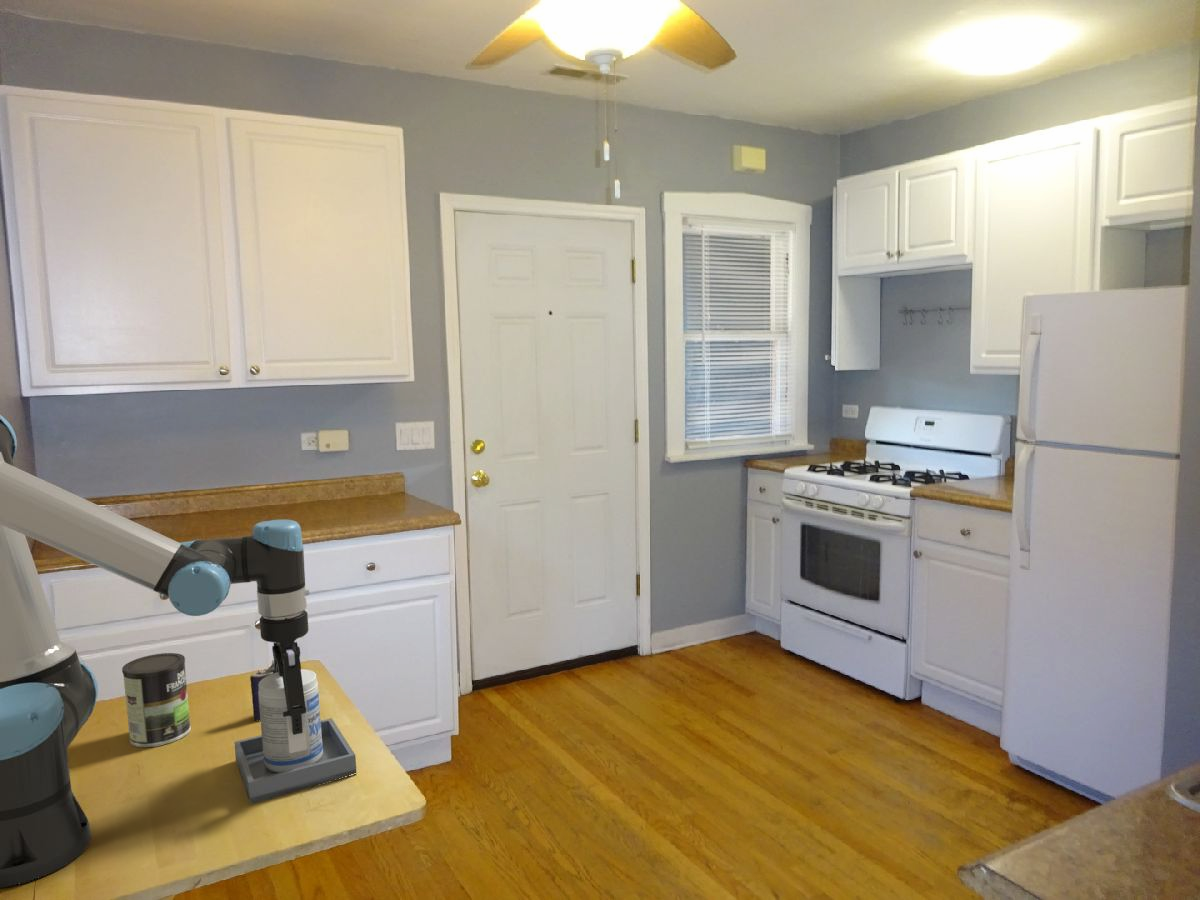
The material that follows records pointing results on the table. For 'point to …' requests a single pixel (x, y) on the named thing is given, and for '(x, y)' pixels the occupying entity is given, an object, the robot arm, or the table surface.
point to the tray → (271, 784)
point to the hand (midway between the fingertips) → (292, 734)
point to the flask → (255, 688)
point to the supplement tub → (276, 724)
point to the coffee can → (156, 699)
